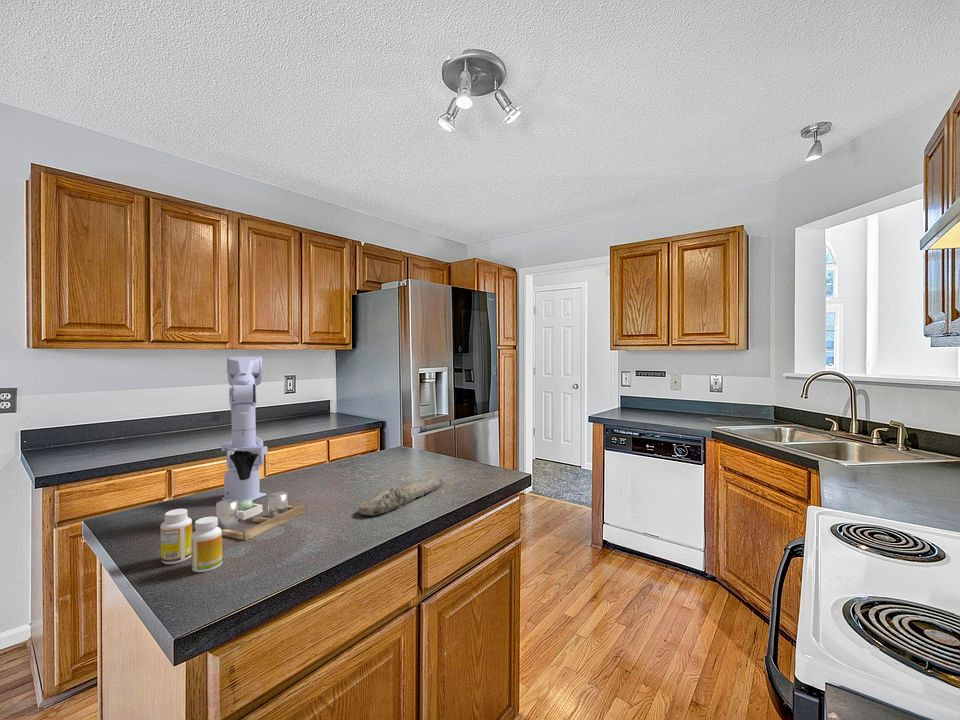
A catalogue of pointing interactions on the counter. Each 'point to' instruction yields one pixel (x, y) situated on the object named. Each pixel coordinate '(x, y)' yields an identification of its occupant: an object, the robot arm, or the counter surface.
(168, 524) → the supplement bottle
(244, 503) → the button
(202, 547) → the supplement bottle
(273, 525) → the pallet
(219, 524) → the billet
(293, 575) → the counter surface
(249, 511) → the button housing
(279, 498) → the cylinder
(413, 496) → the elongated rock
